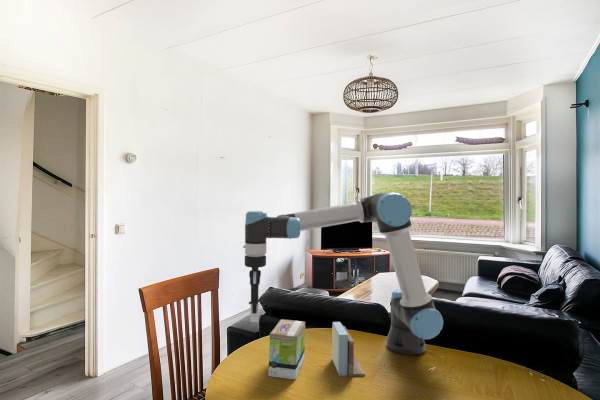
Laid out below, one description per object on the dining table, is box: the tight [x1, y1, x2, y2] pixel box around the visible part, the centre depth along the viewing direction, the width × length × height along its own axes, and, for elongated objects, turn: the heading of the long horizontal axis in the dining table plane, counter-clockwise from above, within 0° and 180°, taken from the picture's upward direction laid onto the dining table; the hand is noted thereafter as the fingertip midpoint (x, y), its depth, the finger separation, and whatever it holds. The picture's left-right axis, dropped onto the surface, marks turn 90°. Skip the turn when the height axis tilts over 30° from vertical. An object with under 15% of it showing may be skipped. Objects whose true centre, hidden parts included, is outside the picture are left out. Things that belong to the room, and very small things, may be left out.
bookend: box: [342, 325, 366, 378], centre depth 123 cm, size 6×14×12 cm, turn 6°
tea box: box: [268, 319, 306, 380], centre depth 122 cm, size 15×10×15 cm
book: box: [331, 321, 348, 377], centre depth 123 cm, size 3×12×14 cm, turn 6°
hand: (254, 321), depth 121 cm, fingers closed
